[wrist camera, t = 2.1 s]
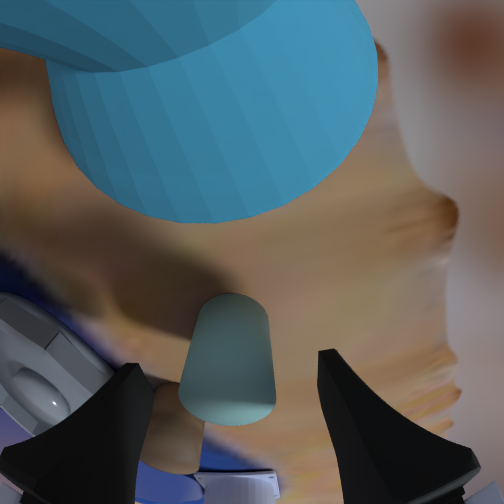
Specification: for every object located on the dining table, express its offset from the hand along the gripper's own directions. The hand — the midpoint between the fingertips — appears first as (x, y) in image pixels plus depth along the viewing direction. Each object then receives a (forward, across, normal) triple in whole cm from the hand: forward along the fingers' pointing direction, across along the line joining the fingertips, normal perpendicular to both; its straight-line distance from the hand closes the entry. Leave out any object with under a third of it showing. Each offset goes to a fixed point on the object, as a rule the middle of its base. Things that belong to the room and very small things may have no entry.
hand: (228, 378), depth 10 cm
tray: (+4, +17, +6) cm, 18 cm away
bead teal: (+4, 0, 0) cm, 4 cm away
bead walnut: (+4, +4, +6) cm, 9 cm away
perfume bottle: (+4, -1, -11) cm, 12 cm away
